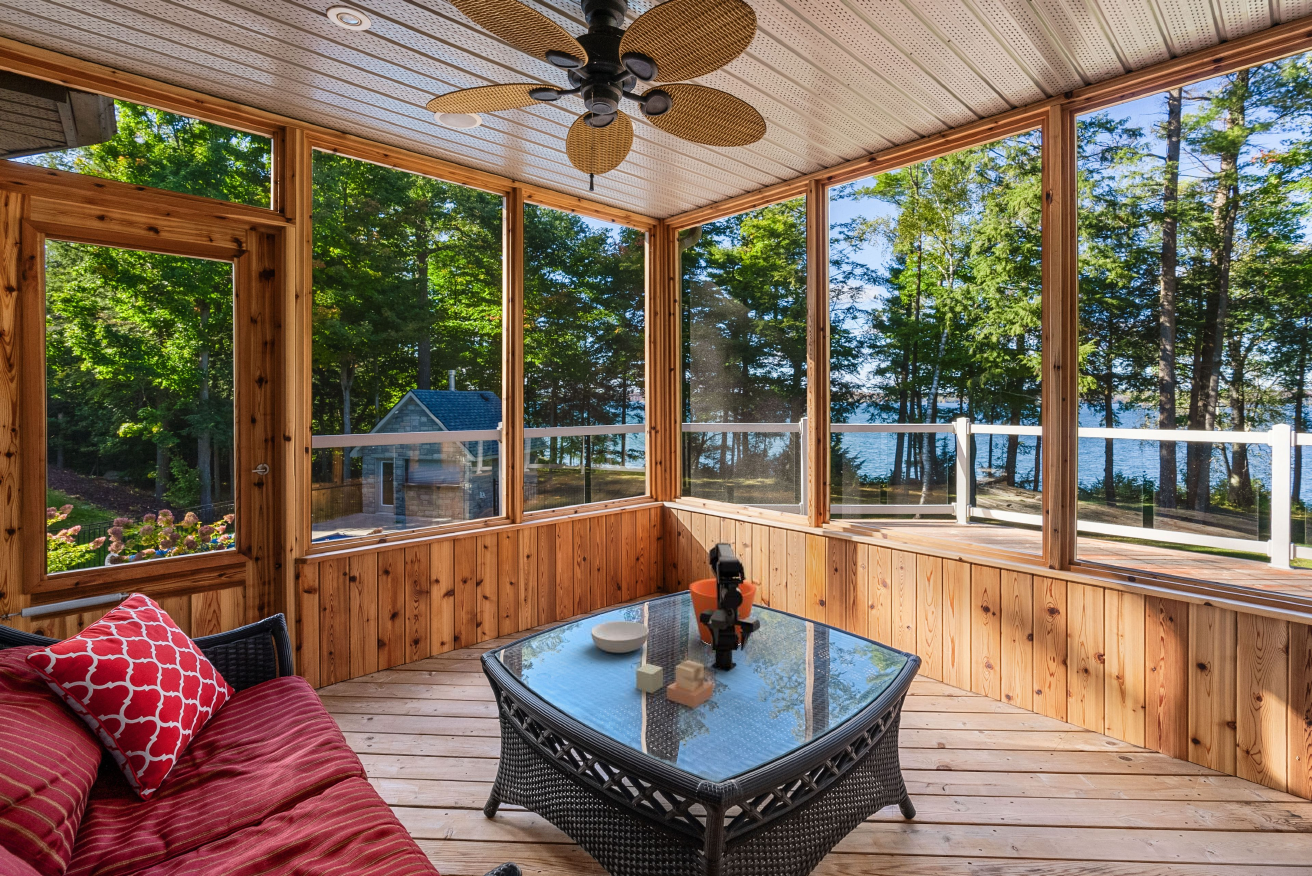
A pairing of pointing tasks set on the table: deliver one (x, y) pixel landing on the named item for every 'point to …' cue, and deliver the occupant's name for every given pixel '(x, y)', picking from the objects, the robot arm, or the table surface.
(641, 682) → the sage green cube
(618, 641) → the serving bowl
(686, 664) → the maple cube
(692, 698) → the terracotta base block
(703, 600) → the flowerpot
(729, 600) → the robot arm
